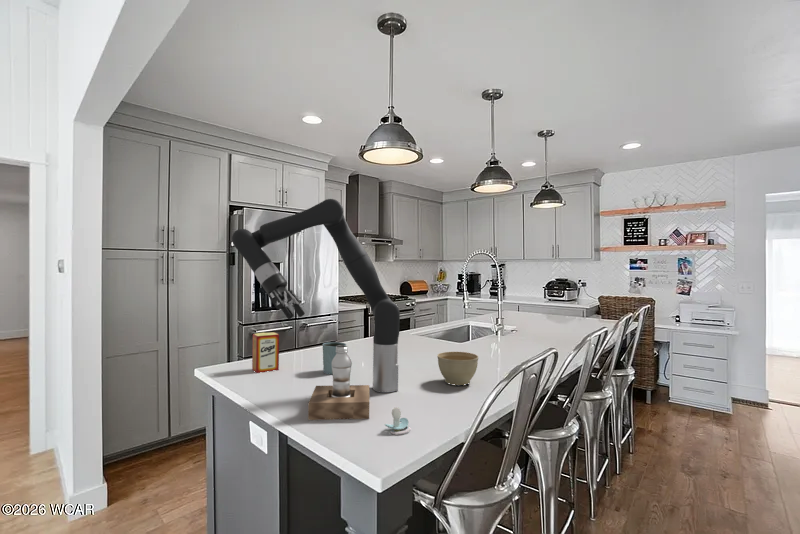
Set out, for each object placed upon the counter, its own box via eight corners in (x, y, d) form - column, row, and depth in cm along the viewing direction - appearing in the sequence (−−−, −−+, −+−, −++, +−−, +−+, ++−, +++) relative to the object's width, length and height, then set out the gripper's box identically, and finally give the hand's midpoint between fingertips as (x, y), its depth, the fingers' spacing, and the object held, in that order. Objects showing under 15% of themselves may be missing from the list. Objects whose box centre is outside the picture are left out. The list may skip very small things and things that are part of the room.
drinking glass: (321, 369, 173) (321, 342, 173) (343, 368, 176) (344, 341, 176) (323, 375, 163) (323, 346, 163) (347, 374, 166) (348, 345, 166)
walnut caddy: (369, 399, 134) (369, 385, 134) (369, 418, 117) (369, 402, 117) (315, 400, 133) (316, 385, 133) (308, 419, 116) (308, 403, 116)
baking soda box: (274, 366, 176) (274, 331, 176) (278, 370, 171) (279, 333, 171) (252, 369, 171) (252, 333, 171) (256, 373, 165) (256, 335, 166)
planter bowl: (476, 377, 163) (476, 351, 163) (480, 390, 147) (480, 360, 147) (437, 376, 164) (437, 350, 164) (436, 388, 148) (437, 359, 148)
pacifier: (415, 431, 109) (401, 424, 114) (416, 409, 109) (401, 402, 114) (395, 438, 105) (381, 430, 109) (396, 415, 104) (382, 408, 109)
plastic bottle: (341, 404, 130) (342, 343, 130) (355, 408, 125) (356, 346, 125) (326, 409, 125) (326, 346, 125) (340, 414, 120) (341, 349, 120)
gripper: (268, 271, 127) (296, 311, 125) (288, 272, 142) (313, 308, 139) (251, 285, 128) (279, 325, 126) (272, 285, 142) (297, 321, 140)
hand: (297, 316), depth 133 cm, fingers open, 8 cm apart
